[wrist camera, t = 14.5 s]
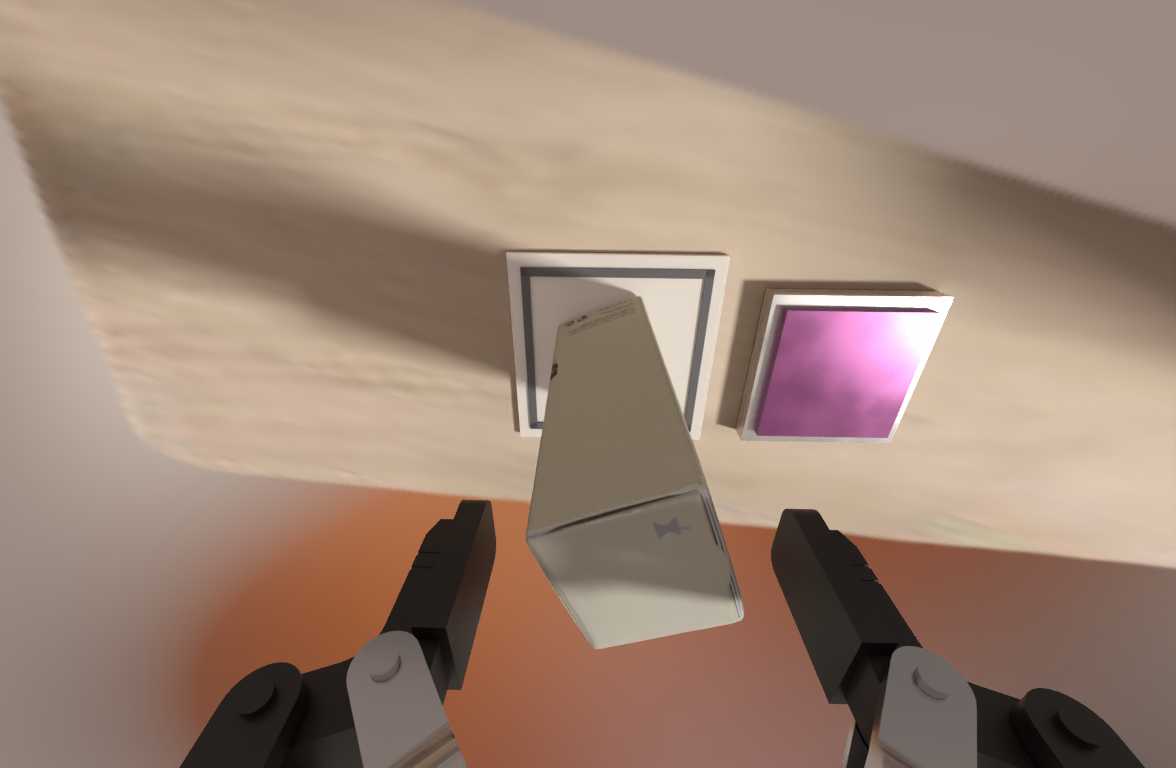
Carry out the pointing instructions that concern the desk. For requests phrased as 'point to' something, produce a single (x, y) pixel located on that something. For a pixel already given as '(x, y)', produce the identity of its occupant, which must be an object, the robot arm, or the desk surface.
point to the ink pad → (837, 363)
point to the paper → (596, 280)
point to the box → (625, 490)
